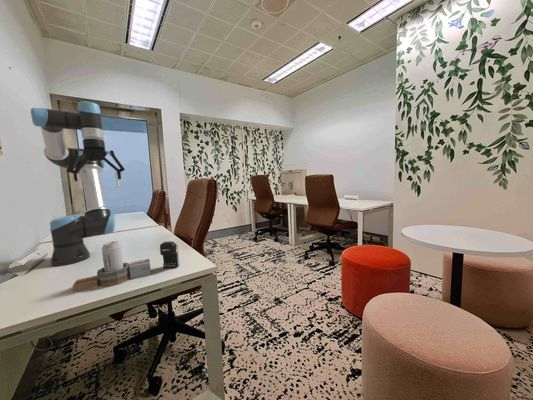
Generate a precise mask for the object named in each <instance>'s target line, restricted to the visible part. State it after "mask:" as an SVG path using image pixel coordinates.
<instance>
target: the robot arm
mask: <svg viewBox="0 0 533 400" xmlns="http://www.w3.org/2000/svg"><path fill="white" fill-rule="evenodd" d="M77 110H78V112H74V111H65V110H58V109H51V108H41V107H32V108H30V116H31V121H32V124H33V126H35V127H40V130H41V134H42V139H43V141H44V146H45V147H44V149H43V154H44V156H45V158H46V159H47V160H48V161H49V162H51V163H52V164H53V165H56V166H58V167H61V168H64V169H67V170H66V171H67V172H68V173H71V174H73V179H74V180H73V181H74V182H77V185H78V189H79V190H82V189H83V193H84V198H85V204H86V209H87V210H85V212H84V215H83V216H81V215H80V214H71V215H65V216H62V217H58V218H54V219H52V220H51V221H50V222H49V227H50V229H49V230H50V234H51V241H52V246H53V247H52V248H53V250H52V255H51V257H50V264H51V267H52V266H54V267H58V266H59V267H60V266H68V265H71V264H76V263H79V262H81V261H85V260H87V259H89V258H90V257H91V255H90V251H89V249H88V248H87V246H86V245H85V243H84V242H85V241H84V239H87V238H93V237H98V236H105V235H108V234H112V233H113V232H115V228H116V222H115V221H116V217H115V216H116V215H115V212H111V209H109V208H107V205H106V198H105V195H104V188H103V183H102V179H101V174H100V173H101V172H102V170H103V169H104V168H105V163H106V164H108V166H110V168H113V170H114V171H115V172H114V175H115V182H116V187H120V180H121V179H122V172H124V171H126V169H125V167H124V166H123V165H122V163H121V162H120V160H119V159H118V158H117V156H116V155H115V151H114V150H108V151H107V149H106V144H105V140H104V139H105V138H104V130H103V124H102V115H101V114H102V113H101V108H100V105H99V104H97V103H96V102H92V101H85V100H84V101H79V102H78V103H77ZM66 129H67V130H75V131H76V130H77V131H80V132H81V138H82V146H83V148H73V147H72V148H71V147H67V146H66V136H65V130H66ZM107 155H109V156H110V157H112V160H113V161H114V162H115V163H116V164H117V165H118V167H119V168H118V167H117V166H115V164H114V163H112V162H111V161H110V160H109V159H108V158H106V157H107Z"/></svg>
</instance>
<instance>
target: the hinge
mask: <svg viewBox="0 0 533 400" xmlns="http://www.w3.org/2000/svg"><path fill="white" fill-rule="evenodd" d="M150 262H151V261H150V258H146V259H145V258H144V259H141V260H135V261H131V262H129V263H128V262H123V267H124V268H122V269H119V270H117V271H112V272H105V269H104V266H103V267H101V268H100V269H98V270H97V272H96V275H94V276H88V277H84V278H83V277H82V278H79V279H78V278H77V279H76V280H75V282H74V283H73V285H72V291H73V294H74V293H78V292H82V291H86V290H91V289H95V288H98V287H99V286H100V287H101V288H104V287H112V286H116V285H117V286H118V285H121V284H123V283H126V282H127V281H129V280H134V279H138V278H142V277H146V276H150V275H151V271H152V269H151V263H150Z"/></svg>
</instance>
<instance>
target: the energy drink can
mask: <svg viewBox="0 0 533 400" xmlns="http://www.w3.org/2000/svg"><path fill="white" fill-rule="evenodd" d="M101 253H102V254H101V255H102V260H103V267H104V269H105V272H112V271H117V270H119V269H122V268H124V267H123V263H124V261H123V254H122V247H121V244H120V243H119V241H118V240H115V241H108V242H105V243H103V246H102V248H101Z"/></svg>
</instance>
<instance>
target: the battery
mask: <svg viewBox="0 0 533 400" xmlns="http://www.w3.org/2000/svg"><path fill="white" fill-rule="evenodd" d="M159 253H160V256H162V259H163V265H162V267H163V268H164V269H175V268H178V267H179V266H180V258H179V257H180V256H179V255H180V254H179V246H178V242H177V241H174V240H173V241H172V240H169V241H168V240H167V241H163V242H162V243H160V246H159Z"/></svg>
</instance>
